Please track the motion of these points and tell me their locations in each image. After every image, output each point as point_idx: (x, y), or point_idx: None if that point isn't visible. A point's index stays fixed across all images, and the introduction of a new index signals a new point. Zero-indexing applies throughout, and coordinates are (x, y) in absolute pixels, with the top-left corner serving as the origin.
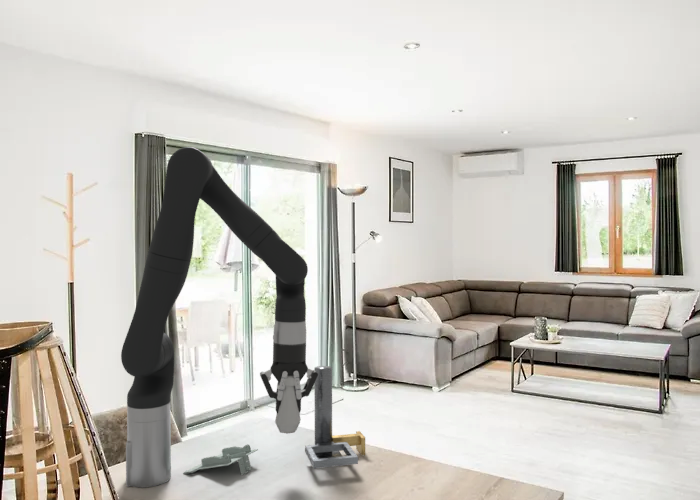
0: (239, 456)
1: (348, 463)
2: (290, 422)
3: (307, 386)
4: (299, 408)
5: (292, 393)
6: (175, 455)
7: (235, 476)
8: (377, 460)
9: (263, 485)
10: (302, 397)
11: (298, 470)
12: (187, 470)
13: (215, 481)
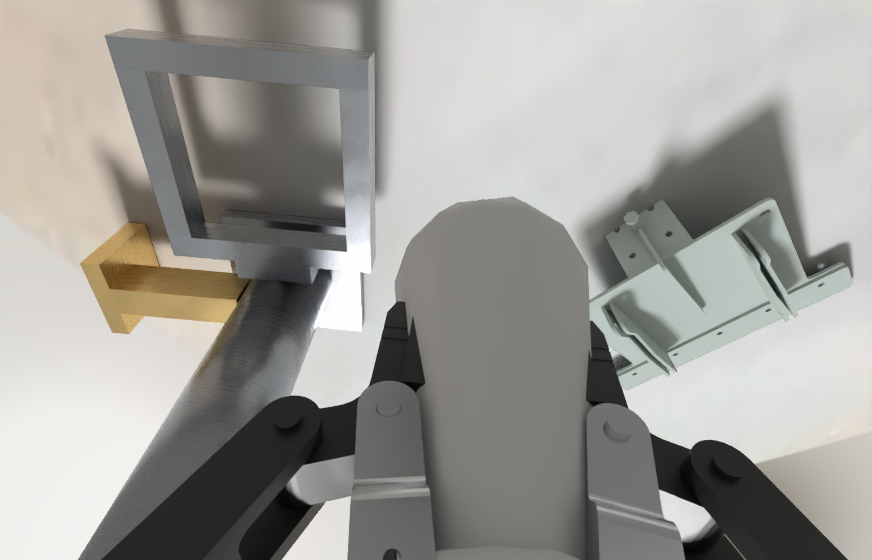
0: (672, 273)
1: (178, 35)
2: (499, 214)
3: (243, 511)
4: (396, 325)
5: (472, 445)
6: (779, 414)
7: (692, 193)
8: (70, 152)
9: (628, 51)
10: (348, 404)
11: (427, 164)
12: (830, 294)
13: (790, 172)
